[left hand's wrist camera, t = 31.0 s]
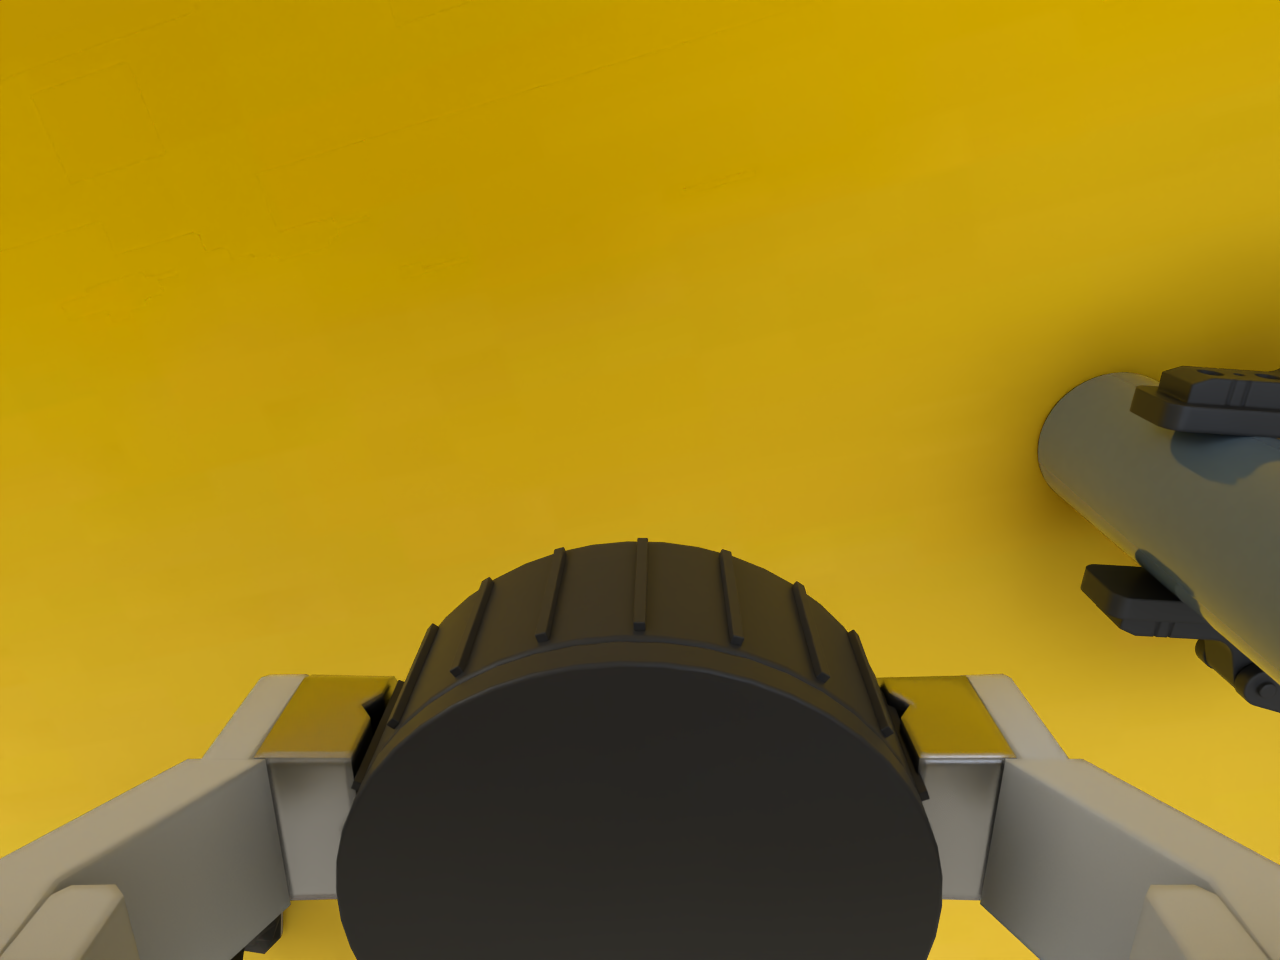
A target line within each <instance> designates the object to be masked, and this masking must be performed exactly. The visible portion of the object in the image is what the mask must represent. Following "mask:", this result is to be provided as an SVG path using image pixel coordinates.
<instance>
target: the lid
mask: <svg viewBox="0 0 1280 960" xmlns="http://www.w3.org/2000/svg"><path fill="white" fill-rule="evenodd" d="M899 728H900V718H899V716H898V713H897V710H896V708H894V707H892V706H889V705H888V704H887V702H886V699H885V697H884V694H883V692H882V690H880V687H879V685H878V682H877V679H876V676H875V674H874V672H873V671H872V669H871V667H870V665H869V663H868V660H867V657H866V655H865V652H864V649H863V646H862V644H861V641H860V638H859V635H858V634H857V633H856V632H855V631H854V630H852V631H850V632H847V631H846V629H845V628H844V627H843V626H842V625H841V624H840V623H839V622H838V621H837V620H836V619H835V618H834V617H833V616H832V615H831V614H830V613H829V612H828V611H827V610H826V609H825V608H824V607H823V606H822V605H821V604H819V603H818V602H817V601H815V600H814V599H812V598H811V597H810V596H808V595H807V594H806V591H805V588H804V586H803V585H802V584H800V583H799V582H797V581H796V582H795V583H794V585H793V584H791V583H789V582H787V581H786V580H784V579H782V578H780V577H778V576H776V575H775V574H773V573H771V572H769V571H767V570H766V569H764V568H761V567H759V566H756V565H754V564H751V563H748V562H746V561H743V560H741V559H738V558H736V557H733V556H732V554H731V552H730V551H727V550H723V549H722V550H721V552H720V553H719V552H715V551H711V550H707V549H703V548H700V547H694V546H686V545H679V544H672V543H665V542H648V538H638V540H637V542H617V543H607V544H596V545H590V546H585V547H580V548H576V549H571V550H567V551H565V549H564V547H562V548H558V549H555V550H554V554H552V555H549V556H546V557H544V558H541V559H538V560H535V561H532V562H529V563H526V564H524V565H522V566H520V567H518V568H516V569H514V570H512V571H510V572H508V573H506V574H504V575H502V576H500V577H498V578H496V579H494V580H492V579H491V578H490V577H488V578H487V579H485V580H484V581H482V583H481V586H480V588H479V590H478V591H477V592H475V593H474V594H472V595H471V596H469V597H468V598H467V599H466V600H465V601H464V602H462V603H461V604H460V605H459V606H458V607H457V608H456V609H455V610H454V611H453V612H451V613H450V614H449V615H448V616H447V617H446V618H445V619H444V620H443V622H442V623H441V624H440V625H439V626H436V625H435V624H432V625H431V626H430V627H429V628H428V630H427V632H426V634H425V636H424V639H423V641H422V643H421V646H420V648H419V650H418V653H417V655H416V657H415V659H414V662H413V664H412V666H411V669H410V671H409V673H408V676H407V678H406V680H405V682H403V681H400V680H398V682H397V684H396V687H395V689H394V691H393V693H392V696H391V698H390V700H389V702H388V704H387V707H386V709H385V711H384V713H383V716H382V718H381V720H380V722H379V725H378V727H377V729H376V731H375V734H374V736H373V738H372V740H371V742H370V745H369V747H368V749H367V751H366V754H365V756H364V758H363V760H362V763H361V765H360V767H359V769H358V772H357V774H356V776H355V778H354V781H353V783H352V786H351V789H354V790H357V791H358V792H357V794H356V797H355V799H354V801H353V804H352V806H351V809H350V812H349V814H348V817H347V819H346V822H345V824H344V827H343V830H342V833H341V839H340V844H339V849H338V854H337V859H336V893H337V899H338V905H339V911H340V917H341V922H342V924H343V927H344V930H345V933H346V936H347V939H348V942H349V944H350V947H351V949H352V951H353V953H354V955H355V957H356V959H357V960H927V957H928V955H929V952H930V950H931V947H932V945H933V942H934V940H935V937H936V933H937V928H938V923H939V918H940V913H941V908H942V881H943V876H942V869H941V863H940V857H939V851H938V846H937V843H936V840H935V837H934V834H933V831H932V828H931V826H930V823H929V820H928V817H927V814H926V812H925V809H924V806H923V804H922V801H925V800H929V799H930V797H929V794H928V791H927V789H926V786H925V783H924V781H923V778H922V776H921V775H917V774H916V771H915V769H914V767H913V764H912V762H911V759H910V757H909V755H908V752H907V750H906V748H905V745H904V743H903V741H902V738H901V736H900V733H899Z"/></svg>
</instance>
